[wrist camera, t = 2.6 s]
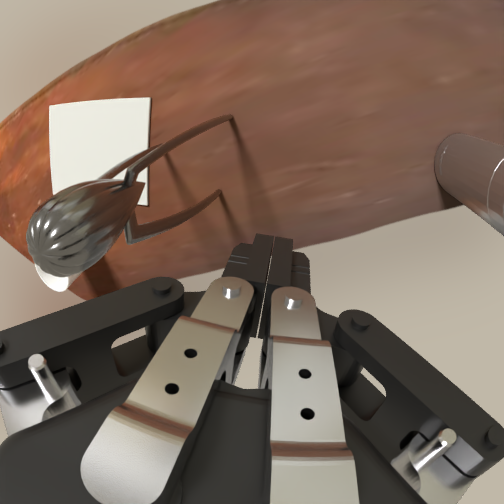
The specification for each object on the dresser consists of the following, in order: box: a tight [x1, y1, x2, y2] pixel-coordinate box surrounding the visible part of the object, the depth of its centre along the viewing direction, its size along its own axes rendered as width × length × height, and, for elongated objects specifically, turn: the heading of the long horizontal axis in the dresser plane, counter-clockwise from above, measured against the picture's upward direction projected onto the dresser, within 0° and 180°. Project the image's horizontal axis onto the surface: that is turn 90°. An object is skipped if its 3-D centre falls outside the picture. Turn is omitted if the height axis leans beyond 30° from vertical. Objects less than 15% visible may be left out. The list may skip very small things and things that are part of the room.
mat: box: [49, 98, 151, 205], centre depth 41 cm, size 20×16×1 cm
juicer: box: [26, 114, 233, 277], centre depth 25 cm, size 10×11×30 cm
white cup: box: [35, 264, 83, 292], centre depth 45 cm, size 8×8×10 cm
